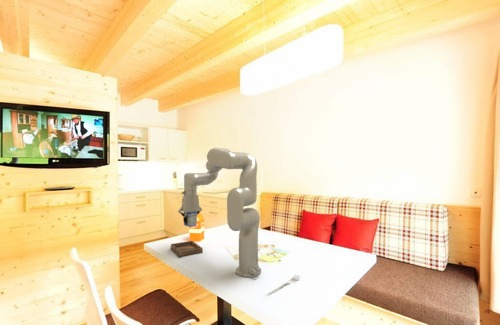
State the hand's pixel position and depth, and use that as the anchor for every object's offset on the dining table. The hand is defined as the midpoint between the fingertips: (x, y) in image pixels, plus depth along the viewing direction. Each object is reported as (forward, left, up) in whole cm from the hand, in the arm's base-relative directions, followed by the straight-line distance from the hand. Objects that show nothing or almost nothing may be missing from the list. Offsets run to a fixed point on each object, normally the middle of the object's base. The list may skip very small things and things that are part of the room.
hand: (190, 222), depth 156 cm
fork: (-65, -19, -19) cm, 70 cm away
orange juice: (+22, -12, -18) cm, 31 cm away
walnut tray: (+3, +2, -18) cm, 18 cm away
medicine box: (0, 0, -2) cm, 2 cm away
